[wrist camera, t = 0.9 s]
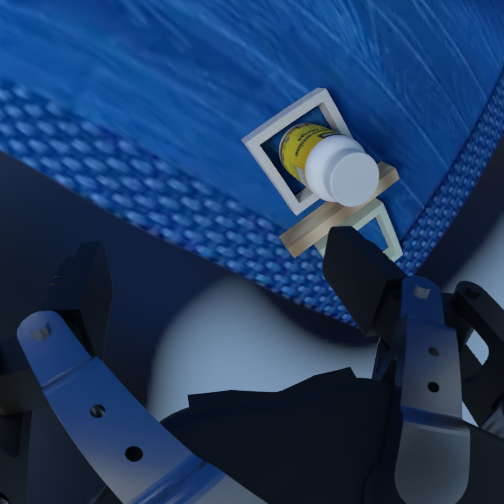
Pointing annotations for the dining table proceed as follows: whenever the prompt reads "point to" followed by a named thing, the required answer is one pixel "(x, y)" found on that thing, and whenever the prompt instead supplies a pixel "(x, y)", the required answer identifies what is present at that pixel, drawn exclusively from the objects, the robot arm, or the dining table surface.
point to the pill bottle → (329, 164)
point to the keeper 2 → (363, 217)
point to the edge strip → (330, 216)
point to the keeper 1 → (277, 124)
